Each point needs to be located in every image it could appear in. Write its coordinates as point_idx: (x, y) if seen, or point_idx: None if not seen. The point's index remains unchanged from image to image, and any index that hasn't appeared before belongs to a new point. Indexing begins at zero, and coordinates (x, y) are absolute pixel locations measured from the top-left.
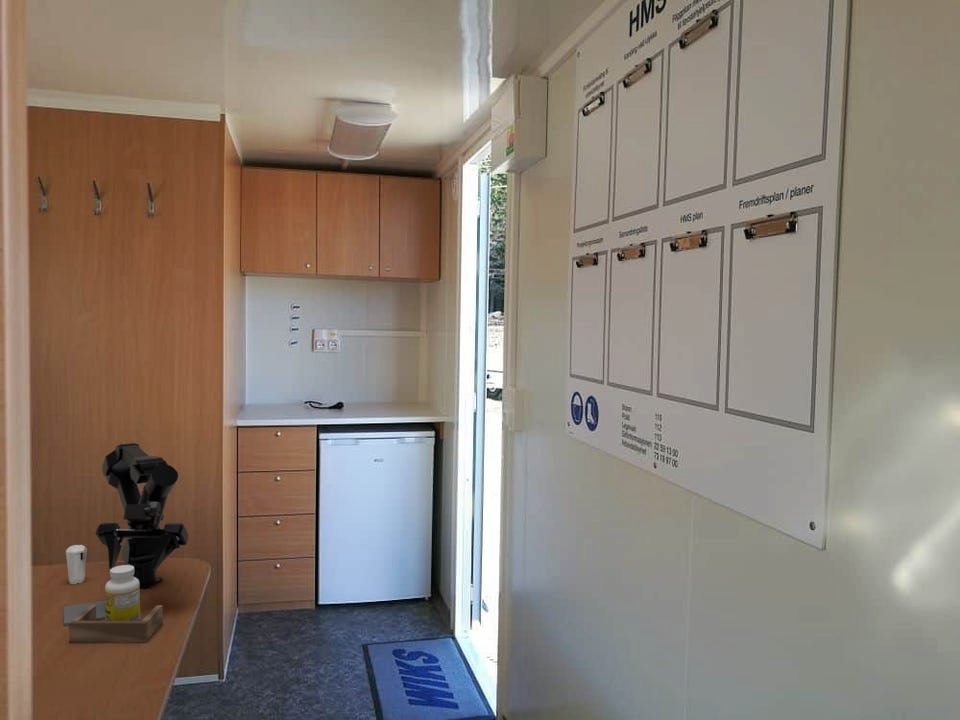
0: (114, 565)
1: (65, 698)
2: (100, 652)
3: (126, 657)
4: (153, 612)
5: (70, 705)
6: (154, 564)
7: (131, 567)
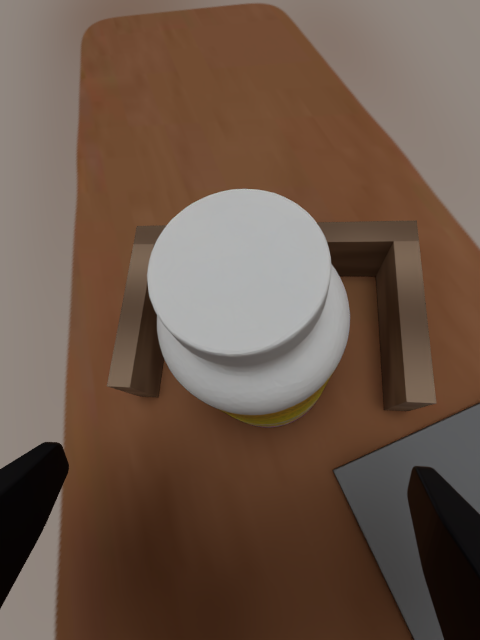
0: (420, 549)
1: (254, 34)
2: None
3: (187, 181)
4: (129, 313)
5: (233, 18)
6: (30, 458)
7: (168, 289)
